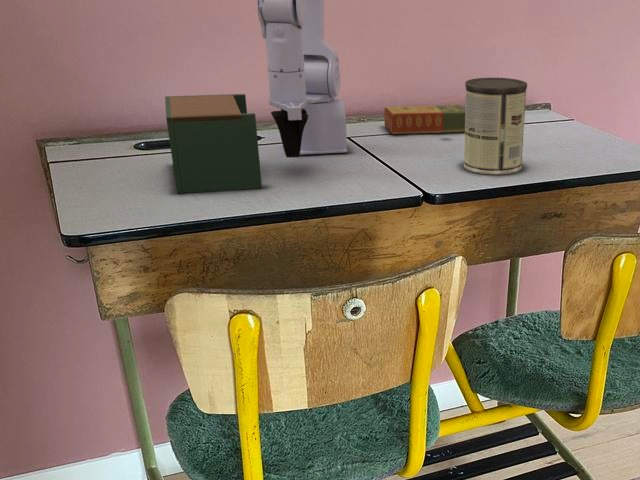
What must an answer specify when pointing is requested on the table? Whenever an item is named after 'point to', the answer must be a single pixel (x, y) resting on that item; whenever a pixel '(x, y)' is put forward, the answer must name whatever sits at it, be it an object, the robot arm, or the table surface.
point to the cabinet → (213, 143)
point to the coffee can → (494, 125)
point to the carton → (425, 119)
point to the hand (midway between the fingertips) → (292, 156)
